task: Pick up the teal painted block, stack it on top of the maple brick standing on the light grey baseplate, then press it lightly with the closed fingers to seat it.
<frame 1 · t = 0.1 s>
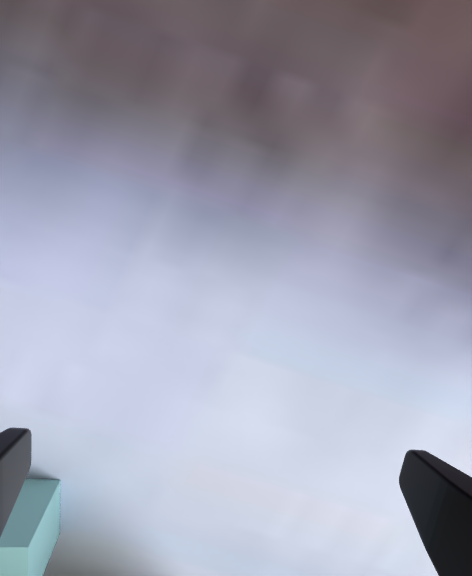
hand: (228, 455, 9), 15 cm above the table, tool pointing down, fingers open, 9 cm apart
teal block: (25, 506, 25), on the table
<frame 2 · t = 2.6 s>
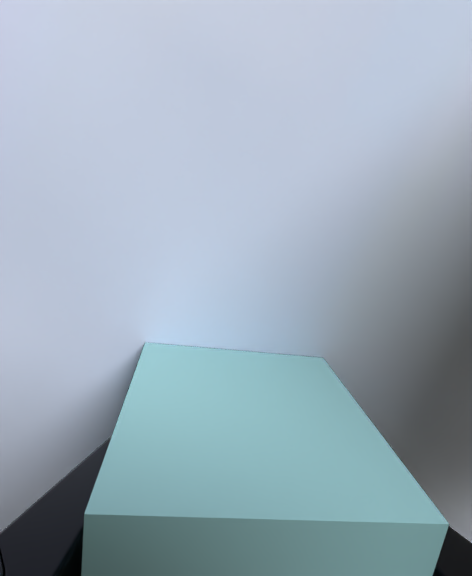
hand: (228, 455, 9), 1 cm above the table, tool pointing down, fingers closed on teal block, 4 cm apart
teal block: (225, 429, 10), on the table, touching gripper
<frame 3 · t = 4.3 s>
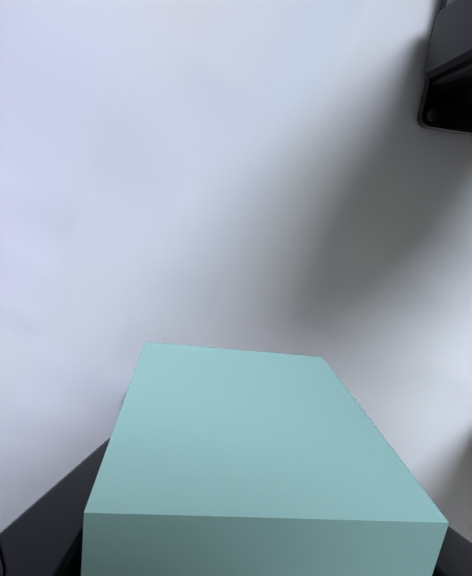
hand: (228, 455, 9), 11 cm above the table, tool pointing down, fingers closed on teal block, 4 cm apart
teal block: (225, 428, 10), point 10 cm above the table, touching gripper
when the fingers open (7 cm above the table, at t = 5.8 s): teal block stays where it is, resting on maple brick.
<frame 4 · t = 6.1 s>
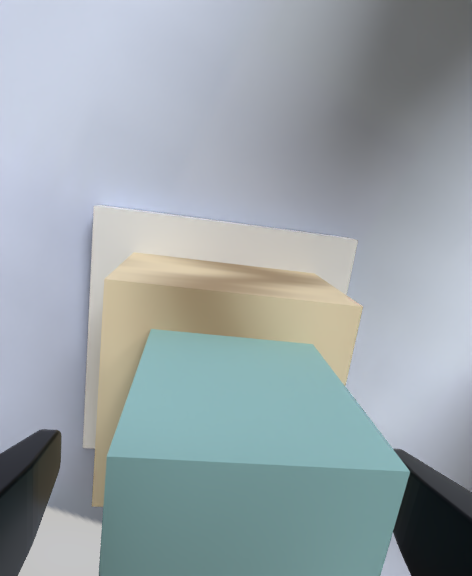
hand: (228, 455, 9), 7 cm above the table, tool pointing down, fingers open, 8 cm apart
maple brick: (215, 347, 15), point 1 cm above the table, touching baseplate, teal block
teal block: (223, 409, 11), point 5 cm above the table, touching maple brick
baseplate: (214, 338, 16), on the table
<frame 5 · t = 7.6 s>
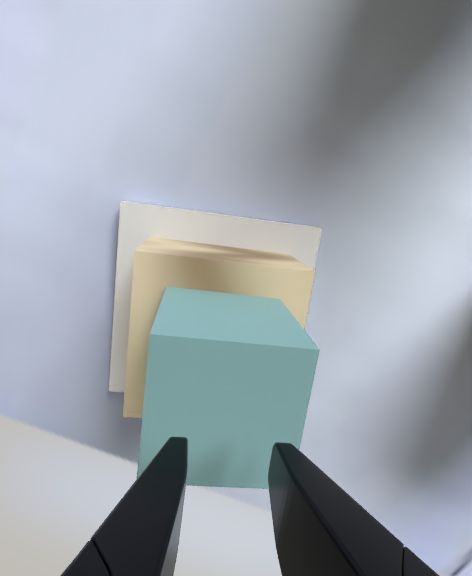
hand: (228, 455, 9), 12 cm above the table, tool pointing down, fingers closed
maple brick: (212, 312, 19), point 1 cm above the table, touching baseplate, teal block
teal block: (217, 346, 15), point 5 cm above the table, touching maple brick
baseplate: (211, 306, 20), on the table
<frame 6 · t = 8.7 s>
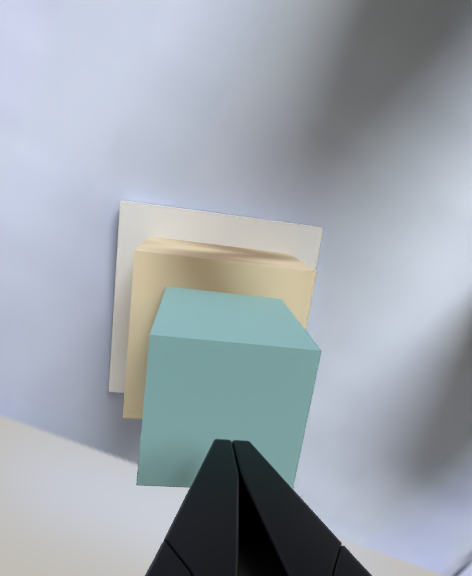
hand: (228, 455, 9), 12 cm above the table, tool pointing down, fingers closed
maple brick: (213, 312, 19), point 1 cm above the table, touching baseplate, teal block
teal block: (217, 346, 15), point 5 cm above the table, touching maple brick
baseplate: (212, 306, 20), on the table
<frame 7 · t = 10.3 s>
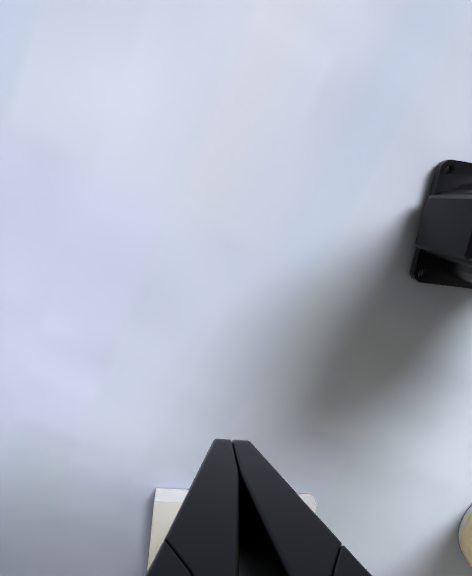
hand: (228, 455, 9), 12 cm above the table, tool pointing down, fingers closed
baseplate: (226, 554, 25), on the table
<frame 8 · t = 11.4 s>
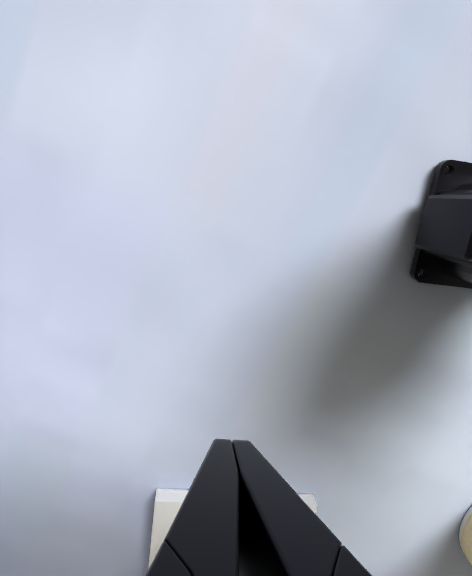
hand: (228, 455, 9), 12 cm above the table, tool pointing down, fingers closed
baseplate: (226, 554, 25), on the table
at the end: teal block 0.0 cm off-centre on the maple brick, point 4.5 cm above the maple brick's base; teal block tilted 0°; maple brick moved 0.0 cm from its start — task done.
